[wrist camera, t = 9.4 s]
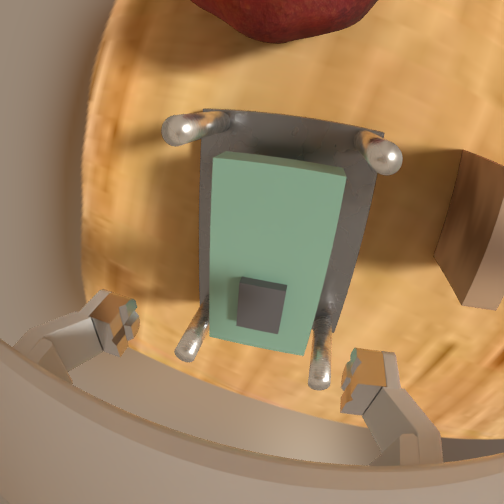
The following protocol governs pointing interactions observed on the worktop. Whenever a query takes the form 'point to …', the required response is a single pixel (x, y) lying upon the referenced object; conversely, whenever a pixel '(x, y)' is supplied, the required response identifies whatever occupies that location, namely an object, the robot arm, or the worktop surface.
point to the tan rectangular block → (475, 234)
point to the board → (270, 247)
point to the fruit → (287, 16)
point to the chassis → (297, 148)
